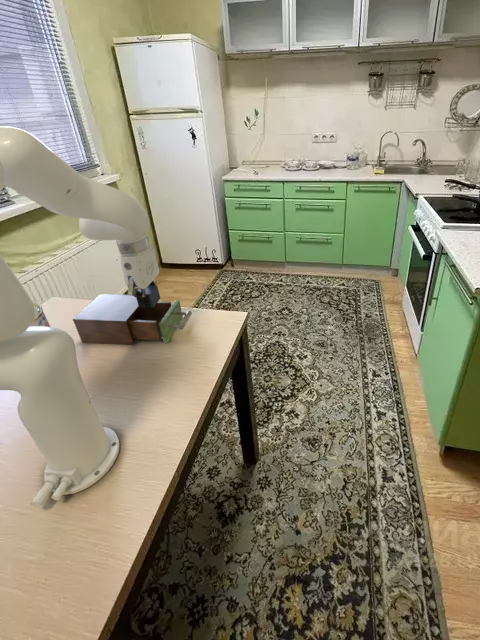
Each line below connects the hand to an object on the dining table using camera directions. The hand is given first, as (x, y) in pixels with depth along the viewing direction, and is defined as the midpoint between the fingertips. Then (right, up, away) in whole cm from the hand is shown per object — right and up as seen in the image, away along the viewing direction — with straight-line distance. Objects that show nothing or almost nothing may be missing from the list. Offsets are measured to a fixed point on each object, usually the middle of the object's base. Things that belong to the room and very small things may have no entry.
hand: (149, 301), depth 92 cm
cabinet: (-12, -10, +6) cm, 16 cm away
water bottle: (-19, -18, -10) cm, 28 cm away
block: (0, 0, 0) cm, 0 cm away
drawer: (+1, -9, +4) cm, 10 cm away
